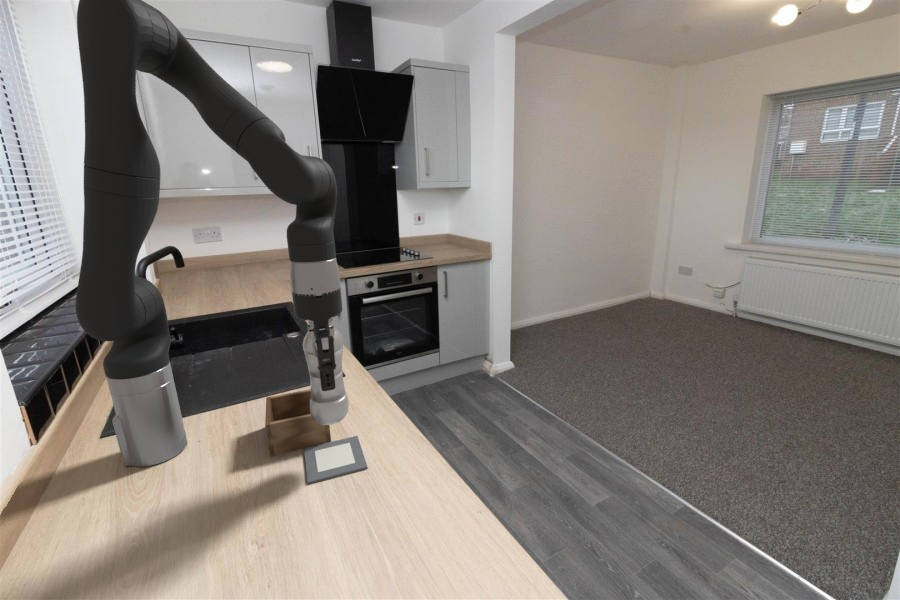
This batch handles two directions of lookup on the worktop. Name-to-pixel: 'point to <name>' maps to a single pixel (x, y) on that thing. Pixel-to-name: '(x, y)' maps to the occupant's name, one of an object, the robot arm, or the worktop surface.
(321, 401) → the plastic bottle
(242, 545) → the worktop surface
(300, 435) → the crate
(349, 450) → the mat
